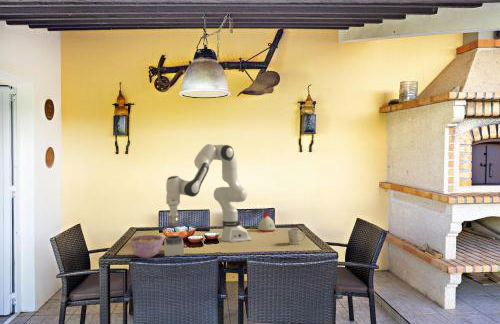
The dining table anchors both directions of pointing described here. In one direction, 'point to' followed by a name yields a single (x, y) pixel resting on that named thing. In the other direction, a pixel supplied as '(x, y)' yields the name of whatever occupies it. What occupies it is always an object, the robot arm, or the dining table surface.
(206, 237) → the dining table surface
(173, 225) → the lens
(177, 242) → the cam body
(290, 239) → the mug
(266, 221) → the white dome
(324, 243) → the dining table surface
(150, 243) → the bowl of food
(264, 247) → the dining table surface
